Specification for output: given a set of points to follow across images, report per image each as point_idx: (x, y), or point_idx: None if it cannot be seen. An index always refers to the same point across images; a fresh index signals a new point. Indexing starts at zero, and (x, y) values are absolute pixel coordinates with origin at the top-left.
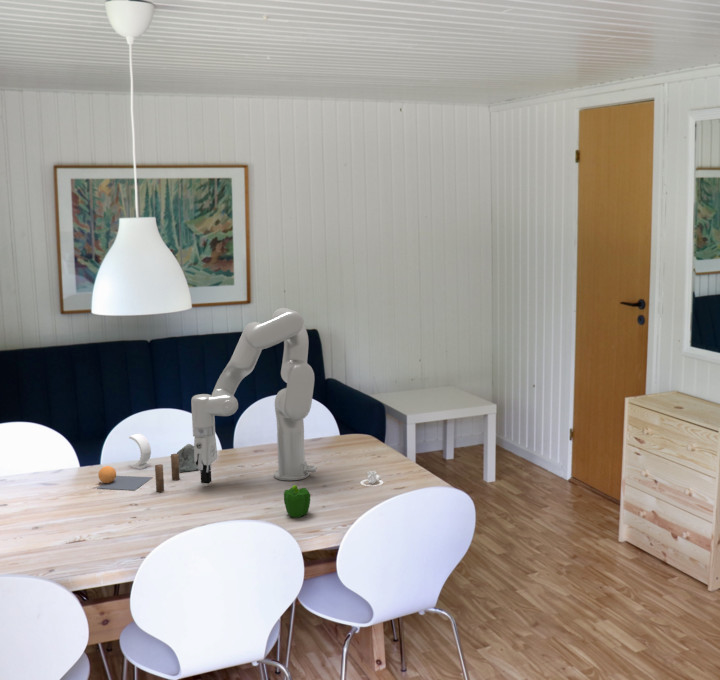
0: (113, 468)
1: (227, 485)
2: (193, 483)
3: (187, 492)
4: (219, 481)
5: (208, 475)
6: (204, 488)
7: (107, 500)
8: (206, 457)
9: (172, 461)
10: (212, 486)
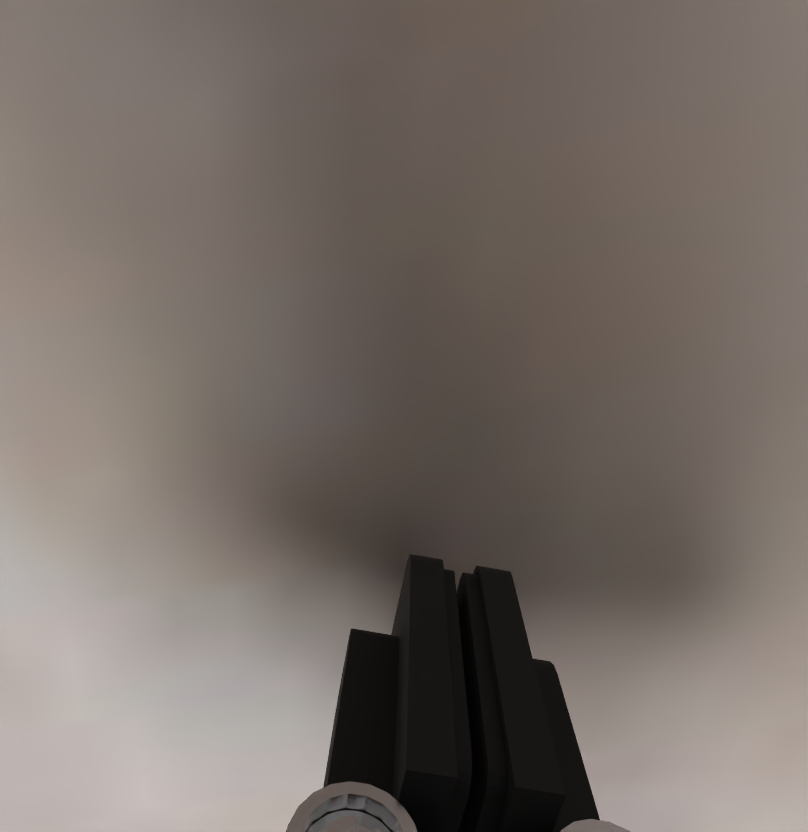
0: None
1: (367, 182)
2: (251, 782)
3: (688, 794)
4: (106, 403)
5: (535, 727)
6: (523, 598)
7: None
8: None
9: None
10: (418, 485)
